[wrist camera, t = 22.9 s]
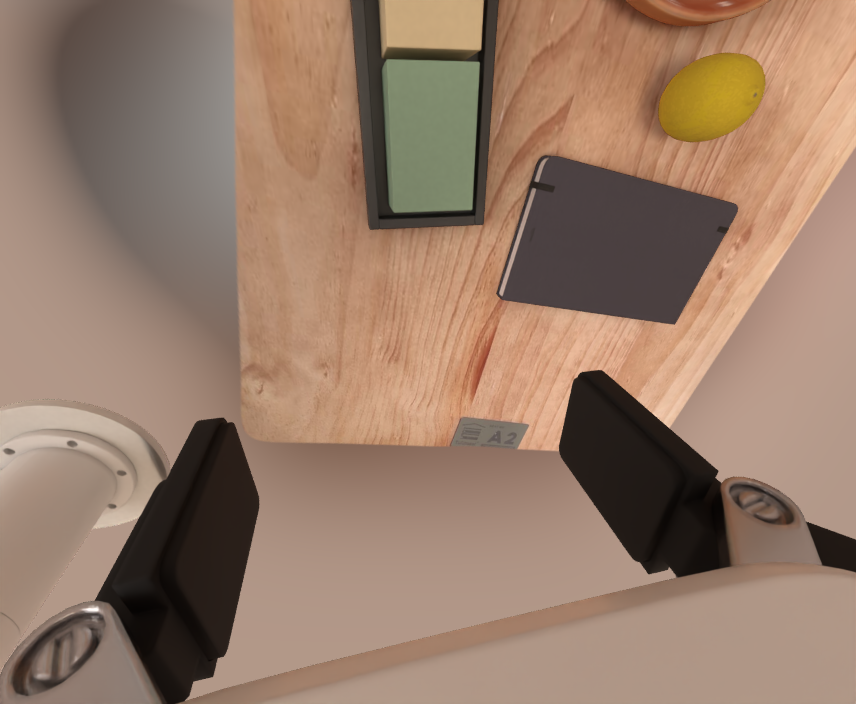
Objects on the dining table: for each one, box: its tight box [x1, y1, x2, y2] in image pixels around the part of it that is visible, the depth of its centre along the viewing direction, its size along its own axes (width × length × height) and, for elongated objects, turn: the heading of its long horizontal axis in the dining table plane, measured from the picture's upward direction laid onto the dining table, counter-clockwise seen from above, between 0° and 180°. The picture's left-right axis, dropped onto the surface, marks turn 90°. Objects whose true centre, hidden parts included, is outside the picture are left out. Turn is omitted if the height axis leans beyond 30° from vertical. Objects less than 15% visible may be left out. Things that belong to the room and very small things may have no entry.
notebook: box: [497, 156, 738, 325], centre depth 37 cm, size 13×2×21 cm
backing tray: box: [350, 0, 499, 230], centre depth 26 cm, size 10×22×2 cm, turn 0°
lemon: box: [658, 53, 765, 142], centre depth 28 cm, size 6×6×8 cm
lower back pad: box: [381, 59, 480, 213], centre depth 27 cm, size 6×9×4 cm, turn 0°
